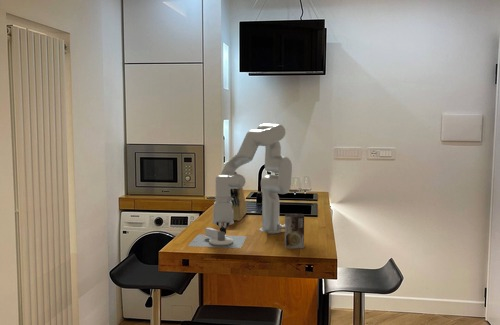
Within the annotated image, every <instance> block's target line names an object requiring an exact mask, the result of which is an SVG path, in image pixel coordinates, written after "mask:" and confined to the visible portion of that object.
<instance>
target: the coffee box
mask: <svg viewBox="0 0 500 325" xmlns="http://www.w3.org/2000/svg"><path fill="white" fill-rule="evenodd" d="M284 225H285V229H284V247H285V249H305V215H304V213H285V214H284Z"/></svg>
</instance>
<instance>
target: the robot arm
mask: <svg viewBox="0 0 500 325" xmlns="http://www.w3.org/2000/svg"><path fill="white" fill-rule="evenodd" d="M285 136H286V128H285V127H284V125H282V124H279V123H262V124H259V125H258V126H257V129H250V130H248V131H247V132H246V134H245V136H244V138H243V141H242V143H241V145H240V147H239V149H238V151H237V153H236V154H235V155H234V156H232V157H231V159H229V160H228V161H227V162H226V164H224V167H223V169H222V171H221V173H220V174H219V175H216V176H215V201H214V202H213V207H212V224H214V225H217V227H218V228H219V231H224V232H225V235H226V234H227V227H228V226H229V225H230V226H231V225H234V220H233V204H232V202H230V201H231V200H233V198H232V197H231V196H230V189H240V188H242V187H244V186H245V185H246V178H245V176H244V175H242V174H239V173H237V174H234V172H236V171H237V169H238V168H240V167H241V166H243V165H244V166H245V165H246V164H248V163H250V162H252V161H253V159H254V157H255V154H256V153H257V150H258V148H259V147H264V148H265V149H264V150H265V153H264V154H265V155H264V169H265V171H266V172H268V173H271V174H267V175H264V176H262V178H261V179H260V188H261V197H262V198H261V199H262V200H261V201H262V202H261V203H262V205H261V213H262V214H261V227H260V228H259V230H258V231H259V232H263V233H264V232H265V233H266V232H267V233H266V234H267V235H268V234H269V235H270V234H273V235H274V234H280V233H282V232H283V230H285V224H281V223H280V196H279V195H285V194H288V193H289V192H290V190H291V185H292V176H293V175H292V172H293V163H292V161H291V159H290V158H289V157H287V156H283V155H281V154H282V152H281V151H282V146H281V143H280V141H282V140H283V139H284V138H285ZM272 173H273V174H274V175H273V174H272ZM275 174H277V175H275ZM278 194H279V195H278Z"/></svg>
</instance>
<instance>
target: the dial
mask: <svg viewBox="0 0 500 325" xmlns="http://www.w3.org/2000/svg"><path fill="white" fill-rule="evenodd" d="M204 233H205V234H204V235H205V236H208V237H211V239H209V243H210V244H212V245H230V244H232V243H233V239H232V238H228V237H225V235H226V234H225V232H224V231H220V229H215V228H212V227H205V232H204Z"/></svg>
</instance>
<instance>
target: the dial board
mask: <svg viewBox="0 0 500 325" xmlns="http://www.w3.org/2000/svg"><path fill="white" fill-rule="evenodd" d="M225 237H228V238H232V239H233V243H232V244H230V245H212V244H210V243H209V239H211V237H208V236H205V234H197V235H196V236H195V237H194V238H193V240H191V241H190V242H189V244H188V245H187V247H197V248H198V247H199V248H200V247H201V248H223V249H224V248H227V249H242V247H243V245H244V243H245V241H246V240H247V237H248V236H246V235H226V234H225Z"/></svg>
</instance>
